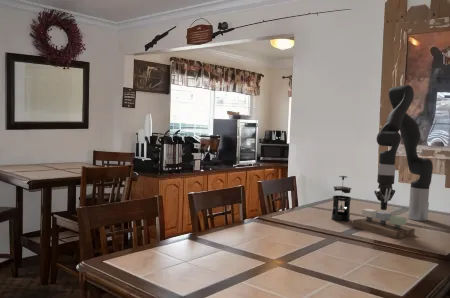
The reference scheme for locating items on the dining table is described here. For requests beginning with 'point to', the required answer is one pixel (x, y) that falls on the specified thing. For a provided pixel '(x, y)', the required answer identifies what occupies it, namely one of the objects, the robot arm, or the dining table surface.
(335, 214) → the french press
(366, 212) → the cream block
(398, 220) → the sage key
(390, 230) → the key panel
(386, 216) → the grey squarish block
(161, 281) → the dining table surface
